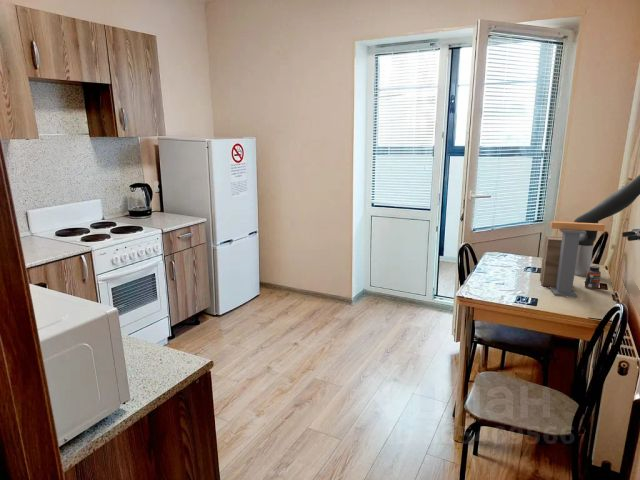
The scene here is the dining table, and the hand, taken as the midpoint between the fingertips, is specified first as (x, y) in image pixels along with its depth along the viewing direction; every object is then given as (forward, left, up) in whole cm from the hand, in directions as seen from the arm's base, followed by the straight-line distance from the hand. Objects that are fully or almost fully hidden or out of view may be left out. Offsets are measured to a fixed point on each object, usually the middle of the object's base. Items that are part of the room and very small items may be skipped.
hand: (624, 236), depth 198 cm
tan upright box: (-13, -24, -30) cm, 41 cm away
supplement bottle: (-13, -7, -30) cm, 34 cm away
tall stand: (0, -22, -30) cm, 37 cm away
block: (0, -20, +2) cm, 20 cm away
